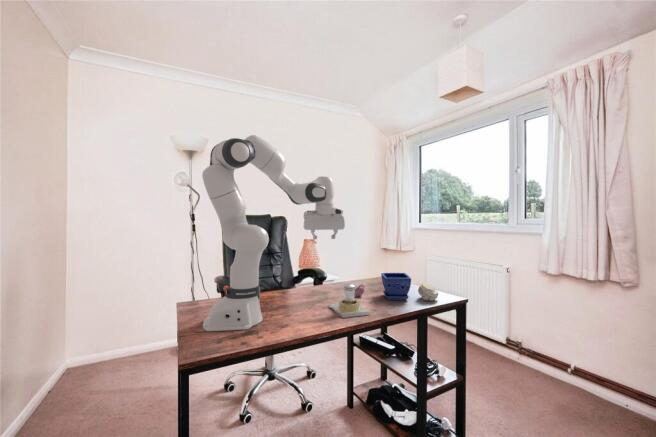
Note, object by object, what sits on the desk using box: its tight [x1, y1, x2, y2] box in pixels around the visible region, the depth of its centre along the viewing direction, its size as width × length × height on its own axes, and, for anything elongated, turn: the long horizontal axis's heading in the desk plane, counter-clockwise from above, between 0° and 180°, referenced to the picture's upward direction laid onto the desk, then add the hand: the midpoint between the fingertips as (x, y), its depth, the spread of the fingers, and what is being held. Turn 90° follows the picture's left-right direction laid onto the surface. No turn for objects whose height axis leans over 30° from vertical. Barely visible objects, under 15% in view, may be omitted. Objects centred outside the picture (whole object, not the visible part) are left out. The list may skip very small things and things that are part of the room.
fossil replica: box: [417, 282, 439, 302], centre depth 145 cm, size 12×8×10 cm
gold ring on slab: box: [329, 298, 371, 319], centre depth 128 cm, size 13×15×4 cm
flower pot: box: [381, 272, 412, 301], centre depth 148 cm, size 13×13×12 cm
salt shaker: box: [343, 283, 356, 304], centre depth 128 cm, size 5×5×10 cm
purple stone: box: [355, 283, 366, 298], centre depth 153 cm, size 10×5×7 cm, turn 170°
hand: (324, 239), depth 138 cm, fingers open, 8 cm apart
